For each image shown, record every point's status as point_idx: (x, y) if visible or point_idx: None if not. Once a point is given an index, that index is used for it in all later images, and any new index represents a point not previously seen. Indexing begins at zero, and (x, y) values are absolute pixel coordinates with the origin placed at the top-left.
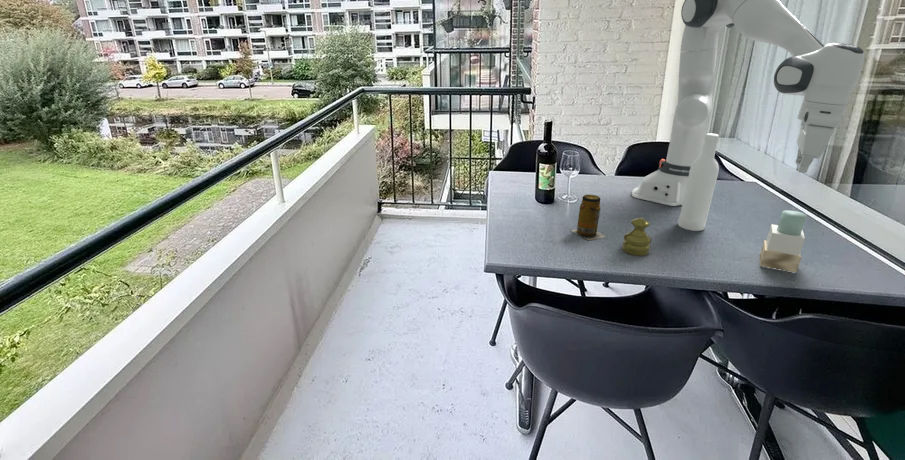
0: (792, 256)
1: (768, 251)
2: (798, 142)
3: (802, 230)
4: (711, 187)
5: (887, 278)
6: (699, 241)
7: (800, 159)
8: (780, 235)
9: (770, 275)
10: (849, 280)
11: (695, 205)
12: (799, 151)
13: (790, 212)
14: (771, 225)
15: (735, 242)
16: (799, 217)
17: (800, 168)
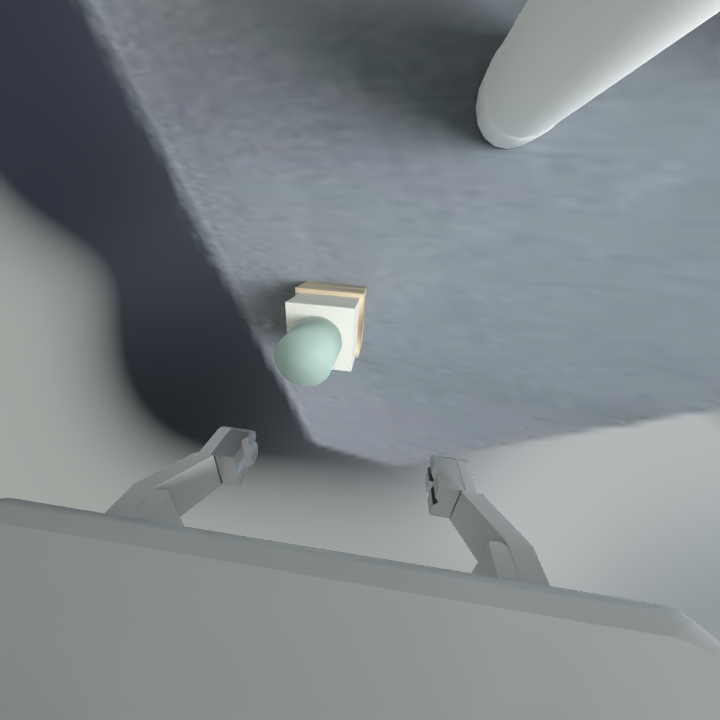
0: None
1: (295, 294)
2: (504, 615)
3: (344, 370)
4: (578, 38)
5: (364, 449)
6: (392, 137)
7: (434, 489)
8: (287, 319)
9: (275, 295)
10: (328, 404)
11: (515, 34)
12: (494, 532)
13: (310, 352)
14: (345, 307)
15: (425, 239)
16: (278, 366)
17: (211, 441)
